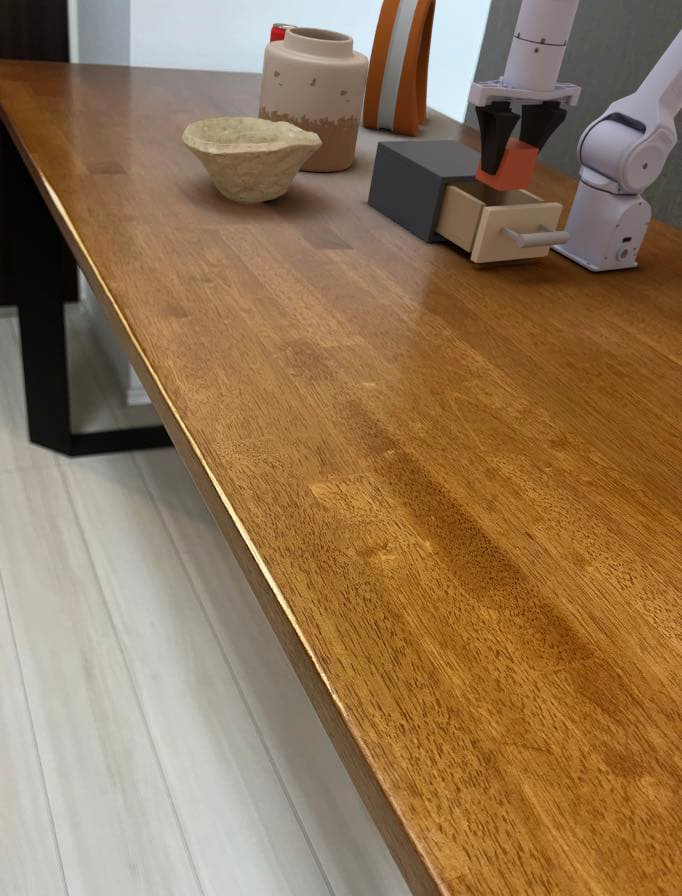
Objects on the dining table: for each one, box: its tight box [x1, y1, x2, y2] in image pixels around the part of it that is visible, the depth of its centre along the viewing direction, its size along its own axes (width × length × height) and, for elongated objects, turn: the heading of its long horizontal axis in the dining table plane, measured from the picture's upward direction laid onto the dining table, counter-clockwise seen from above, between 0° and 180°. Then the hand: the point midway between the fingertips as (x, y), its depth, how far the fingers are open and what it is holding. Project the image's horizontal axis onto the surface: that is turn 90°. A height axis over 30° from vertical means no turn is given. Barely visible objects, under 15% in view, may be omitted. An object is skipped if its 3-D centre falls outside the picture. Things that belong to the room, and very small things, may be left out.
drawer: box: [435, 182, 569, 264], centre depth 106 cm, size 18×11×6 cm, turn 27°
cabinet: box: [367, 139, 481, 244], centre depth 114 cm, size 15×13×8 cm
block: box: [475, 137, 539, 191], centre depth 100 cm, size 4×4×4 cm
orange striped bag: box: [362, 0, 437, 137], centre depth 149 cm, size 22×10×23 cm, turn 165°
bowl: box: [181, 116, 322, 205], centre depth 112 cm, size 14×18×15 cm
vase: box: [257, 26, 370, 173], centre depth 127 cm, size 15×15×17 cm
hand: (504, 171), depth 100 cm, fingers closed on block, 4 cm apart
